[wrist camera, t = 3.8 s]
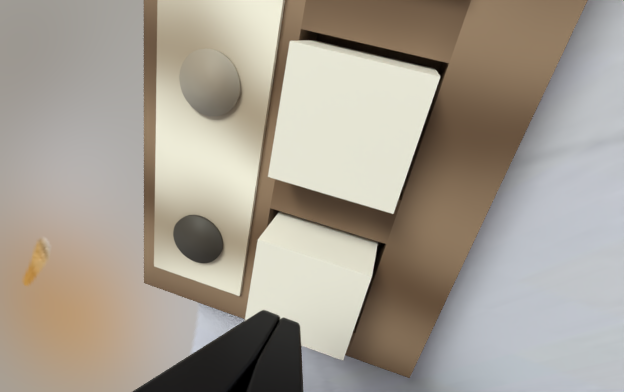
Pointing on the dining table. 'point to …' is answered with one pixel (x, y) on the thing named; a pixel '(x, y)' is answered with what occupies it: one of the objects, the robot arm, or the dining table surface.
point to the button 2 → (312, 279)
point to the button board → (315, 205)
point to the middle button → (349, 122)
